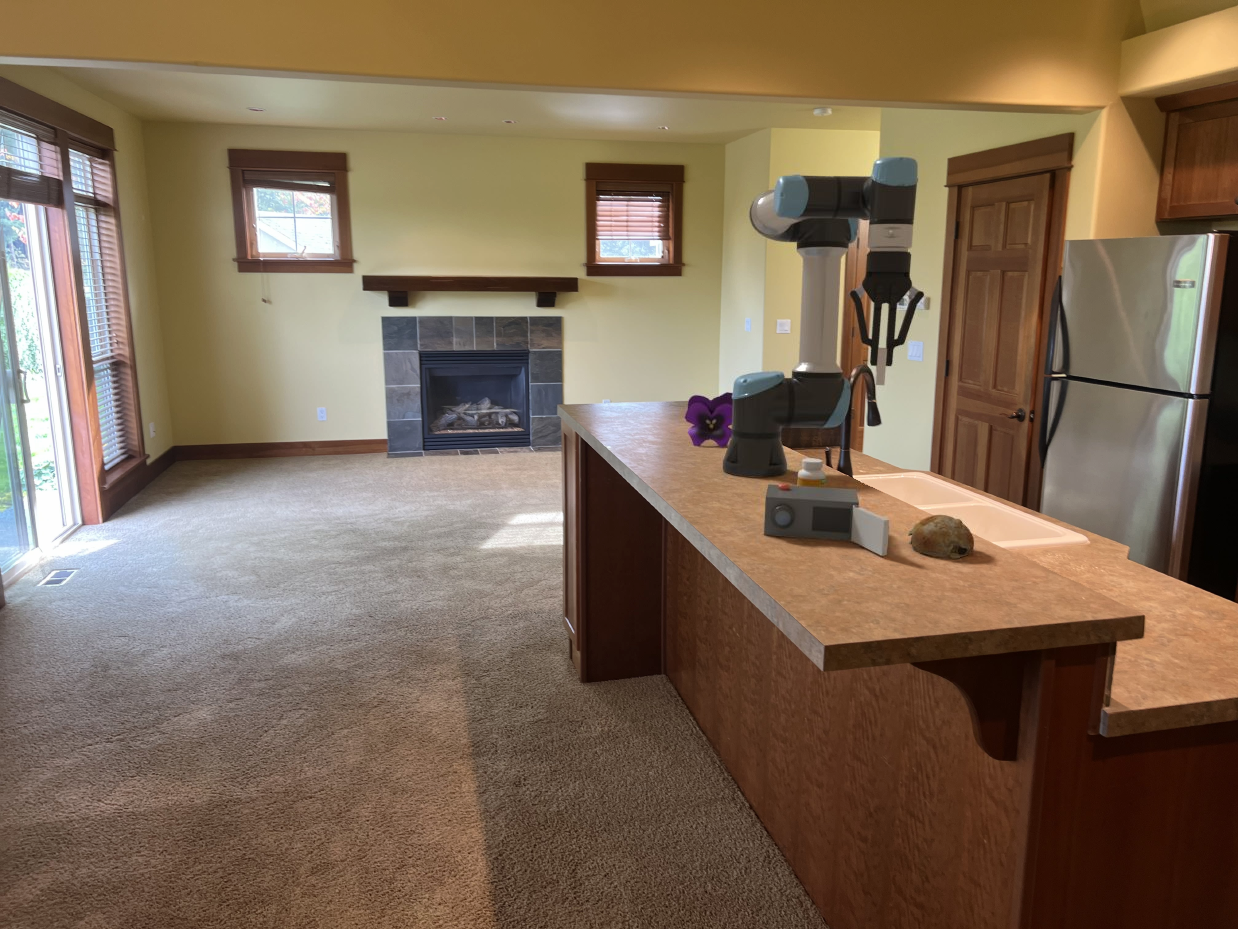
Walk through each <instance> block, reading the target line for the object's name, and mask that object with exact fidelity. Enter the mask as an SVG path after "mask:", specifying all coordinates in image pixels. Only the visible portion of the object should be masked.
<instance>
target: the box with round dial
mask: <svg viewBox="0 0 1238 929" xmlns="http://www.w3.org/2000/svg"><path fill="white" fill-rule="evenodd" d="M853 505H859V506H860V501H859V497H858V492H857V489H853V488H852V489H851V488H839V487H838V488H837V487H835V488H834V487H825V488H822V487H805V486H797V485H790V484H789V483H779V484H768V485H767V489H766V494H765V505H764V523H763V524H764V527H763V535H764V536H772V537H773V536H775V537H790V538H791V537H792V538H801V539H803V538H804V539H819V540H831V541H832V540H833V541H849V542H851V528H852V513H853Z"/></svg>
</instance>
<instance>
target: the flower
mask: <svg viewBox="0 0 1238 929" xmlns="http://www.w3.org/2000/svg"><path fill="white" fill-rule="evenodd" d="M732 395H733V392H730V391H729V392H727V391H726V392H725V393H723V394H721V395H719V396H716V397H713V398H712V399H711V400H710V398H709V397H706V396H704V395H697V394H695V395H692V396H690V398H689V399H688V402H687V410H686V411H685V415H684V419H685V421H686V422H687V423H690V424H692V426H690V427H689V429H688V431H687V434H688V435H689V437H690V439H691V443H692V444H693V446H694V447H700V446H702V444H703V443H705V441H708V440H711V441H713V442H715V444H716V445H718V446H719V448H726V447H728V445H729V443H730V440H731V431H732V427H730V426H732V405H733V399H732Z"/></svg>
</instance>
